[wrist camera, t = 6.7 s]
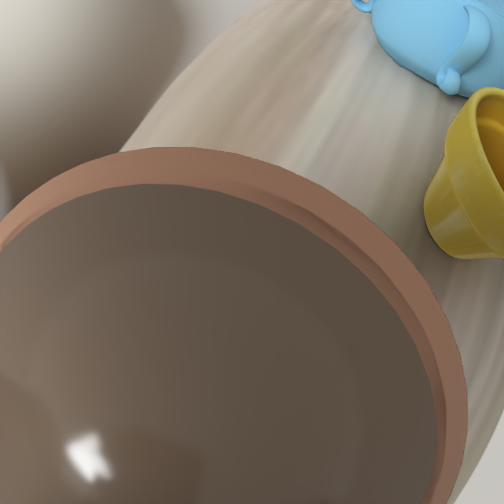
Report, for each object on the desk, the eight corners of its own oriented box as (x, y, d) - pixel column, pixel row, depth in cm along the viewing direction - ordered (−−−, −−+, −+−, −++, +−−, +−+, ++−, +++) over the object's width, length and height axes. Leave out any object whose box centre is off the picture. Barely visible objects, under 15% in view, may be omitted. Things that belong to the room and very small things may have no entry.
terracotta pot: (285, 439, 13) (323, 645, 1) (152, 397, 14) (-41, 495, 2) (326, 307, 15) (520, 247, 3) (190, 268, 16) (18, 122, 3)
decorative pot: (436, 20, 26) (466, -51, 12) (510, 110, 22) (569, 42, 9) (335, 16, 25) (351, -83, 12) (417, 120, 22) (487, 4, 8)
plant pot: (451, 140, 21) (508, 72, 11) (514, 237, 19) (591, 201, 9) (373, 191, 20) (435, 108, 11) (450, 311, 18) (550, 298, 9)
